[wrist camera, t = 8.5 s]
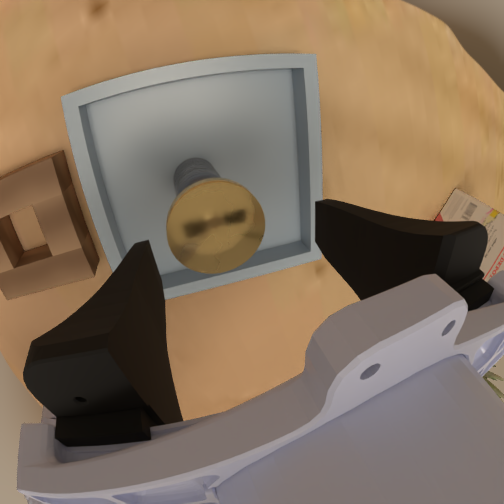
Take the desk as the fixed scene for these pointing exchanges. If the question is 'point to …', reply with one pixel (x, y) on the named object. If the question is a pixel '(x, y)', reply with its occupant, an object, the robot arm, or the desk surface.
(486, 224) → the ink cartridge box
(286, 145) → the tray
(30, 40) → the desk surface
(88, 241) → the brown square socket base
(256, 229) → the lock pin
